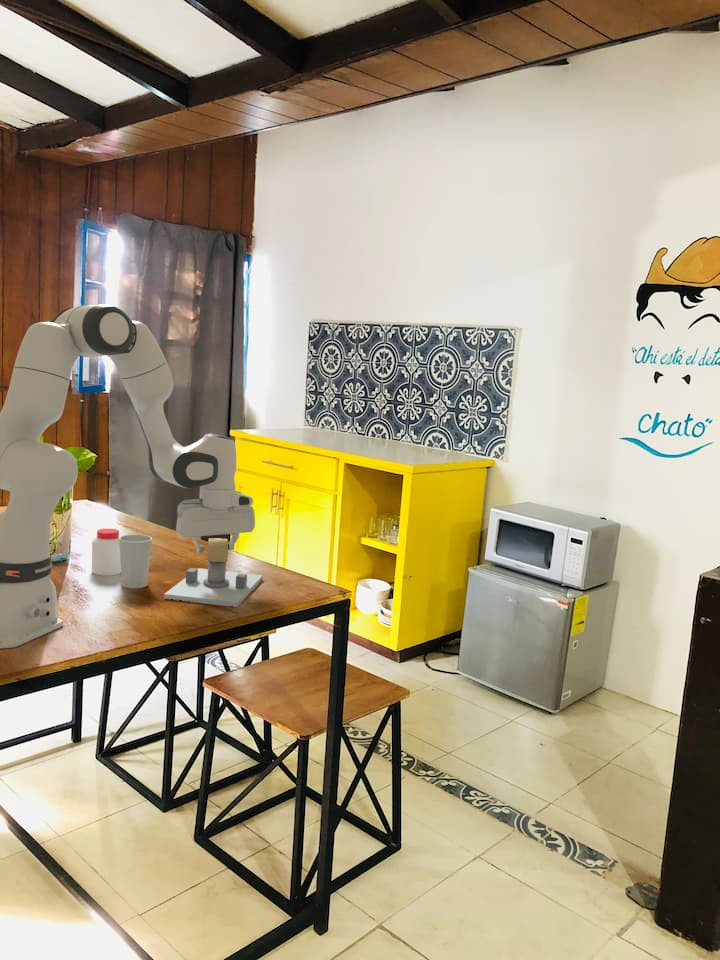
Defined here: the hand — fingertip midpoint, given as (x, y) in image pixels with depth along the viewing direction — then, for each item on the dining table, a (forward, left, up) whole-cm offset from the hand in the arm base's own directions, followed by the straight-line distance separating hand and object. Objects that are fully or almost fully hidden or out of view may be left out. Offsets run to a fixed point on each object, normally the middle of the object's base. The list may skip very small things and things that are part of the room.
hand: (215, 551), depth 200 cm
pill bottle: (+2, +30, -9) cm, 31 cm away
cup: (-6, +19, -9) cm, 22 cm away
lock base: (-2, -1, -9) cm, 9 cm away
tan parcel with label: (-2, -1, -2) cm, 3 cm away
